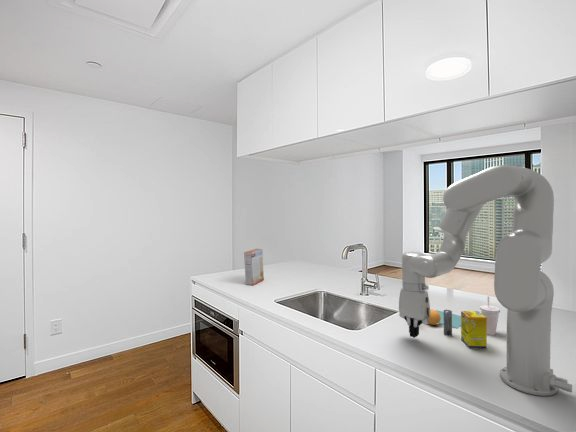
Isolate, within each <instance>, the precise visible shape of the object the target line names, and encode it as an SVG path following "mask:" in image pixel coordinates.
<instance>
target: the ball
mask: <svg viewBox="0 0 576 432" xmlns="http://www.w3.org/2000/svg"><path fill="white" fill-rule="evenodd" d="M436 310H437V309H434V308H433V309H431V308H430V317H429V318H428V319H429V323H428V324H429V325H432V326H434V325H438V324H439V322H440V320H441V317H440V314H439V313H438V312H437V311H436Z"/></svg>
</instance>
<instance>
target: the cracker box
mask: <svg viewBox="0 0 576 432" xmlns="http://www.w3.org/2000/svg"><path fill="white" fill-rule="evenodd" d="M263 254H264V253H263V249H262V248H254V249H251V250H248V251H244V253H243V255H244V272H245V273H244V274H245V275H244V277H245V285H246V286H255V285H257V284H259V283H261V282H262V281H264V280H265V279H264V278H265V277H264V275H265V274H264V256H263Z"/></svg>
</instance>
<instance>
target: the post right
mask: <svg viewBox="0 0 576 432" xmlns="http://www.w3.org/2000/svg"><path fill="white" fill-rule="evenodd" d="M443 312H444V325H443V335H444V336H446V337H452V336H453V327H452V314H453V311H452V310H450V309H444V310H443Z"/></svg>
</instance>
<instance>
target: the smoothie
mask: <svg viewBox="0 0 576 432" xmlns="http://www.w3.org/2000/svg"><path fill="white" fill-rule="evenodd" d="M479 310H480V313H481V314H482V315H483V316H485V317H486V318H487V336H488V335H489V336H495V335H496V333H497V328H498V322H499V315H500V312H501V309H500V308H499V306H498V307H497V306H496V305H495V306H494V305H491V304H490V296H487V304H483V305H480V306H479Z"/></svg>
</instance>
